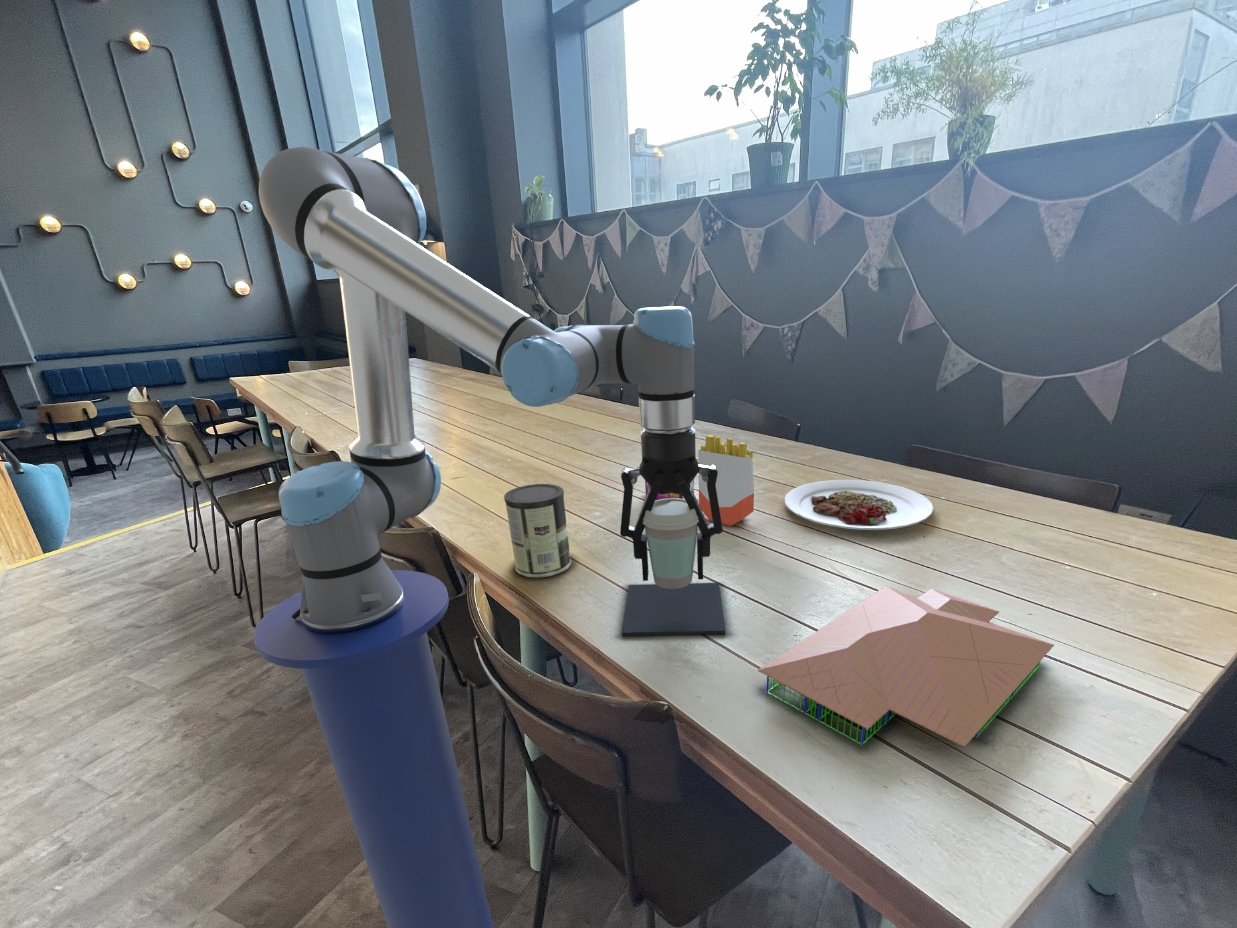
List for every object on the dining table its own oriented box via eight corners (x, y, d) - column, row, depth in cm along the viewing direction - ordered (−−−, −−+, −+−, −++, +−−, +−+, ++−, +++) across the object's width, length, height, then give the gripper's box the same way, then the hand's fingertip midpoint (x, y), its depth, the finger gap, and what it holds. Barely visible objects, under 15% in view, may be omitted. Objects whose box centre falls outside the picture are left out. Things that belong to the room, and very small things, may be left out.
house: (1055, 657, 80) (1070, 603, 77) (939, 794, 60) (952, 729, 57) (892, 598, 96) (898, 551, 92) (757, 691, 76) (759, 636, 73)
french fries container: (711, 511, 134) (710, 430, 126) (754, 521, 127) (756, 436, 120) (698, 518, 131) (697, 434, 123) (742, 528, 124) (744, 441, 117)
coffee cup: (689, 564, 98) (687, 493, 94) (709, 587, 91) (708, 511, 86) (638, 573, 96) (633, 501, 91) (655, 597, 89) (651, 521, 84)
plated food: (867, 480, 149) (869, 466, 147) (965, 521, 123) (968, 505, 122) (759, 499, 140) (759, 485, 138) (839, 547, 114) (841, 531, 112)
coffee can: (549, 549, 119) (541, 479, 113) (582, 564, 112) (575, 491, 106) (503, 566, 112) (492, 494, 107) (535, 583, 106) (525, 507, 100)
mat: (622, 636, 89) (621, 632, 89) (629, 587, 103) (629, 584, 103) (725, 634, 89) (725, 630, 88) (718, 585, 102) (718, 582, 102)
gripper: (740, 418, 87) (738, 563, 96) (596, 424, 88) (608, 567, 97) (745, 431, 80) (743, 585, 89) (590, 437, 81) (603, 589, 90)
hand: (673, 575), depth 93 cm, fingers closed on coffee cup, 8 cm apart
